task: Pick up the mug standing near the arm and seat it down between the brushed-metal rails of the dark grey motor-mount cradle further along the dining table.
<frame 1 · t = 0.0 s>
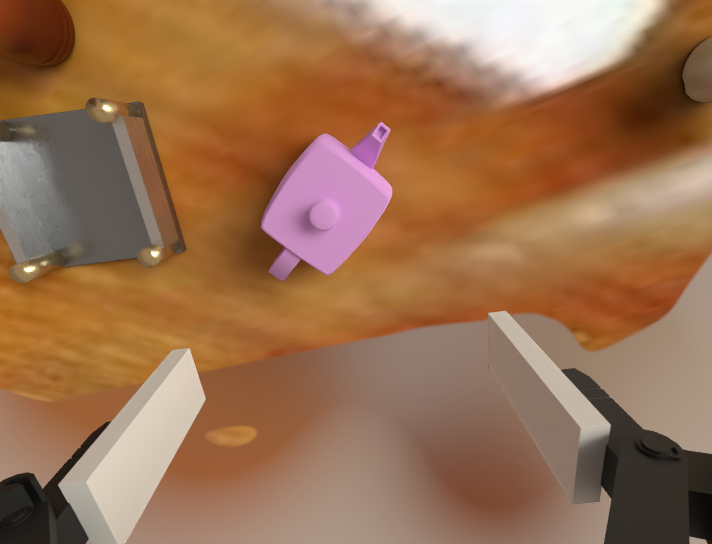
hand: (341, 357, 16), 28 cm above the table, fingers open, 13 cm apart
flower pot: (710, 69, 38), on the table
teapot: (331, 196, 41), on the table
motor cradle: (96, 190, 40), on the table
mug: (32, 37, 36), on the table
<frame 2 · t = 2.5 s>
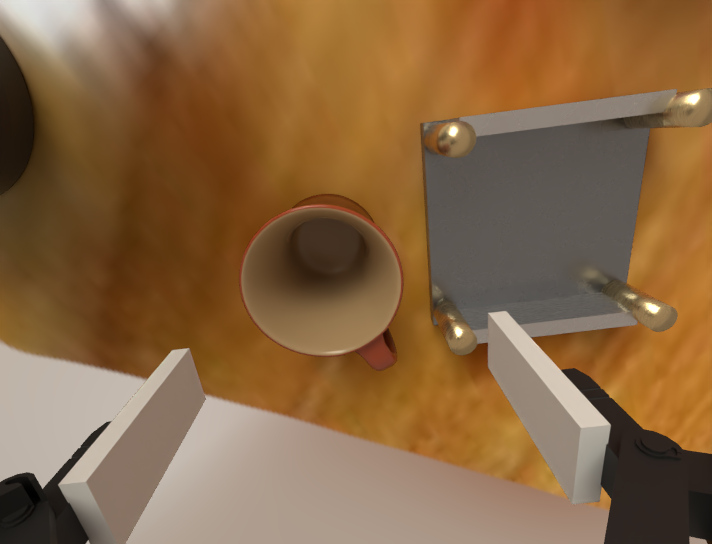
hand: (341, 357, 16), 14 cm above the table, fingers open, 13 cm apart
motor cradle: (526, 218, 29), on the table
mug: (341, 253, 30), on the table
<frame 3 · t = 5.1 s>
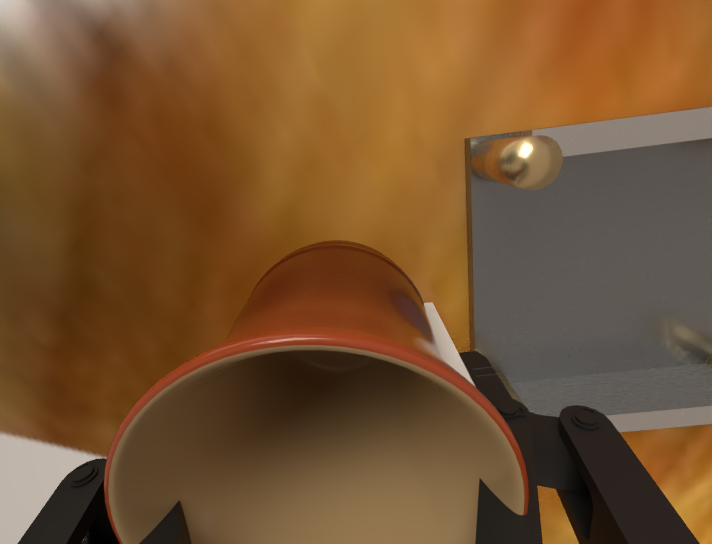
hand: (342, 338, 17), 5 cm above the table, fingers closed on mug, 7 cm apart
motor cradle: (605, 264, 21), on the table
mug: (356, 331, 18), point 4 cm above the table, touching gripper
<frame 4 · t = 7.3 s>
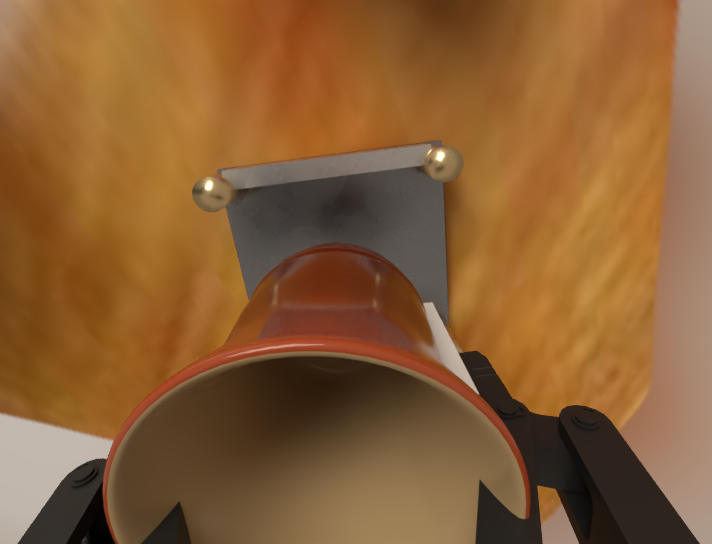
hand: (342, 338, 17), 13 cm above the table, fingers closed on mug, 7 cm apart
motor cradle: (343, 258, 29), on the table
mug: (356, 333, 18), point 12 cm above the table, touching gripper
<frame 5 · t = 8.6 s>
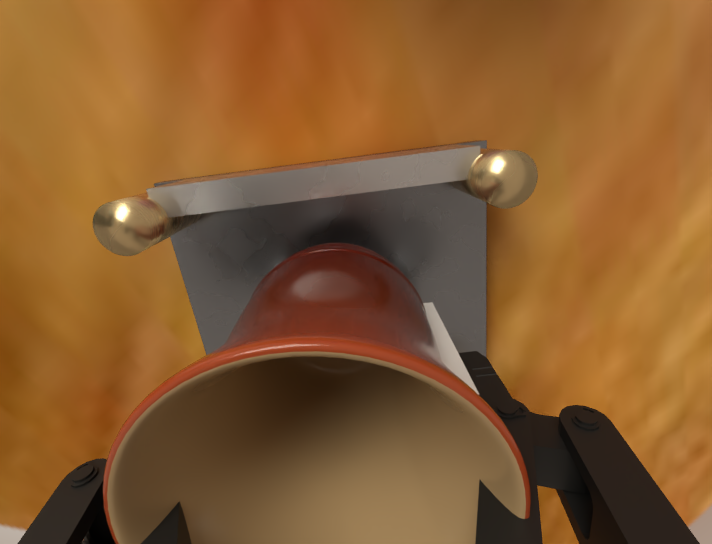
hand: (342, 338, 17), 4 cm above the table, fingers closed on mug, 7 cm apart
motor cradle: (341, 304, 21), on the table
mug: (356, 333, 18), point 3 cm above the table, touching gripper
when the fingers open (2 cm above the table, at t = 9.4 s): mug stays where it is, resting on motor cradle.
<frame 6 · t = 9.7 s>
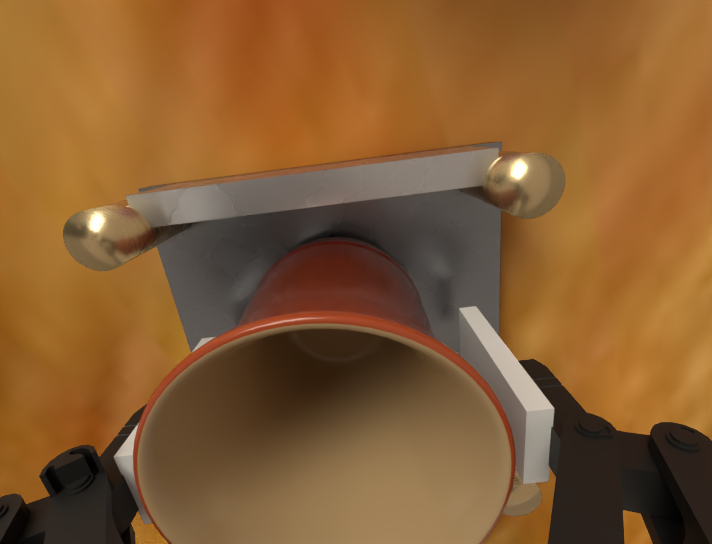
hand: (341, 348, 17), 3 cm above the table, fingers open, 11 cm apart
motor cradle: (342, 318, 19), on the table
mug: (355, 324, 19), point 1 cm above the table, touching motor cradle
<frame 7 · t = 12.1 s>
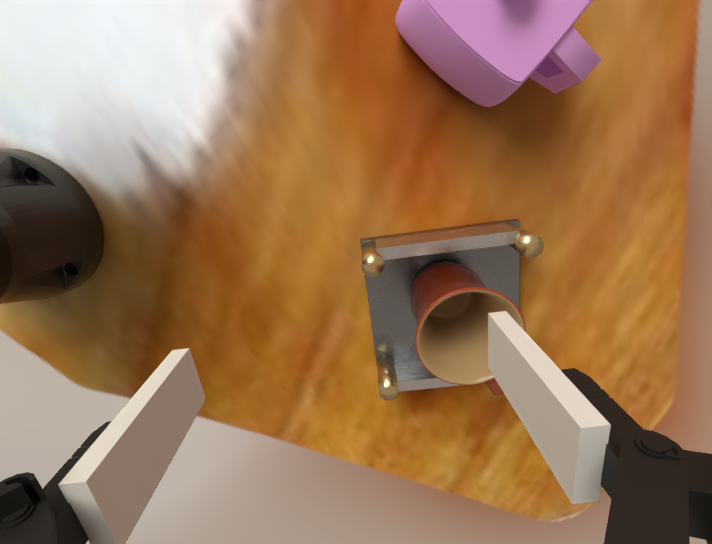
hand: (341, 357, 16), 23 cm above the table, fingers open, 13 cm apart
teapot: (469, 21, 32), on the table
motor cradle: (441, 299, 40), on the table
mug: (449, 302, 39), point 1 cm above the table, touching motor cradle
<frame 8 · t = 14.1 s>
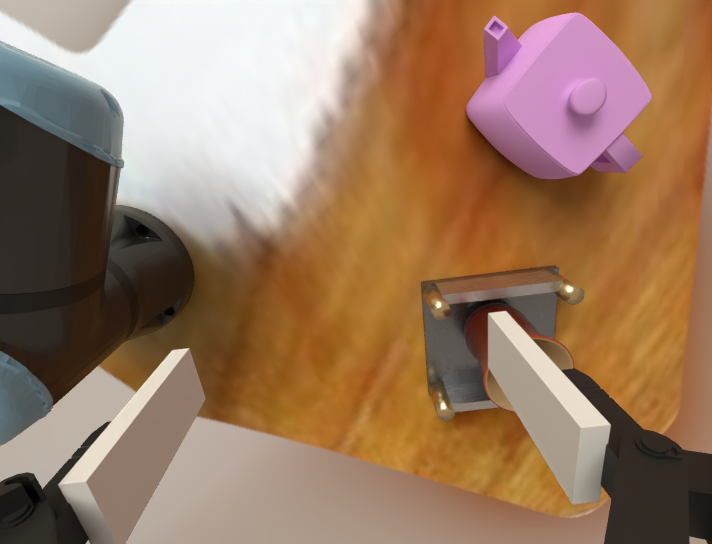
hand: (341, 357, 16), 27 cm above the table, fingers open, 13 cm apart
teapot: (525, 106, 37), on the table
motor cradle: (487, 332, 46), on the table
mug: (495, 334, 45), point 1 cm above the table, touching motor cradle
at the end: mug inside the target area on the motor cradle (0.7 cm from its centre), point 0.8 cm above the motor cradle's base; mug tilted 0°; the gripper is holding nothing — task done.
